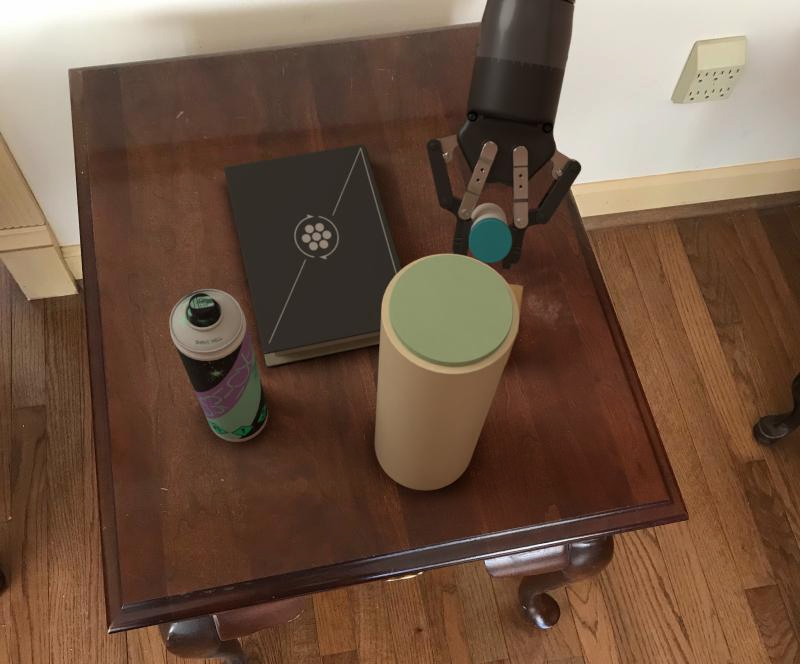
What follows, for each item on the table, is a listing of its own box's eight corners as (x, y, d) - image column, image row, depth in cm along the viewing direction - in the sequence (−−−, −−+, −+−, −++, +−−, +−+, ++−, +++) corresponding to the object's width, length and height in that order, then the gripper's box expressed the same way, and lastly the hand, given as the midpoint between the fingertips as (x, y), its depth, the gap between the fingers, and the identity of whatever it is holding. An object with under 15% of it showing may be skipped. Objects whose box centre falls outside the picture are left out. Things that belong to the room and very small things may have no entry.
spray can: (195, 416, 76) (144, 305, 58) (238, 376, 78) (201, 256, 60) (238, 454, 75) (199, 352, 57) (280, 412, 77) (256, 300, 58)
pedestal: (421, 380, 79) (446, 230, 57) (493, 443, 76) (547, 312, 55) (354, 443, 76) (352, 310, 54) (425, 510, 74) (454, 401, 52)
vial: (469, 215, 82) (484, 138, 72) (505, 221, 82) (525, 144, 72) (455, 309, 78) (468, 241, 68) (493, 315, 77) (512, 248, 68)
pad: (447, 238, 56) (447, 233, 56) (536, 312, 54) (538, 307, 54) (363, 310, 54) (363, 306, 53) (454, 390, 52) (455, 386, 51)
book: (418, 337, 81) (420, 321, 78) (266, 368, 78) (263, 353, 76) (366, 162, 89) (366, 142, 86) (227, 185, 87) (223, 166, 84)
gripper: (434, 44, 65) (403, 260, 72) (612, 71, 65) (566, 285, 71) (437, 48, 72) (409, 245, 79) (599, 73, 72) (557, 268, 78)
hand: (484, 263), depth 75 cm, fingers closed on vial, 3 cm apart
